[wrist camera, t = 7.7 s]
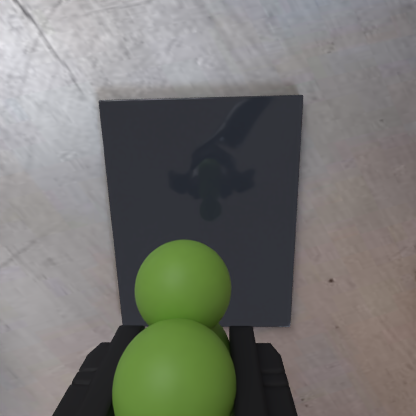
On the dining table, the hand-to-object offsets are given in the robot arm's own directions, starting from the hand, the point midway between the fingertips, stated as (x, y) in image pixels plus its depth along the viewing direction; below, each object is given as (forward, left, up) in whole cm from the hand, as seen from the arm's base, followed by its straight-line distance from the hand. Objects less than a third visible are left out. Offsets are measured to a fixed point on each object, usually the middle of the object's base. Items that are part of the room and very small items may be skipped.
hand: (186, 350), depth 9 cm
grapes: (0, 0, -1) cm, 1 cm away
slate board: (0, 0, -14) cm, 14 cm away
